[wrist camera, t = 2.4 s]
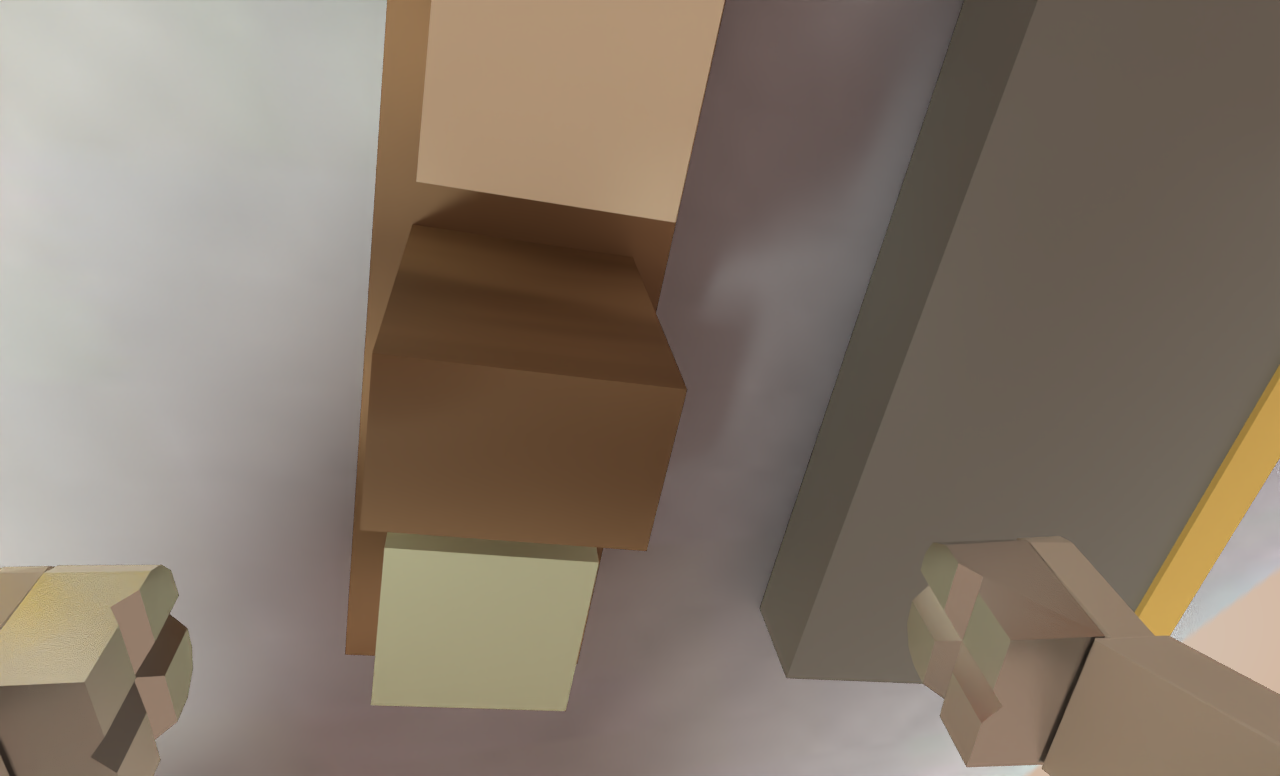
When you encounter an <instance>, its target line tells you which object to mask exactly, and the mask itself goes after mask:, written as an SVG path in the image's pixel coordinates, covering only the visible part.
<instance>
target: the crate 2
mask: <svg viewBox="0 0 1280 776" xmlns="http://www.w3.org/2000/svg"><path fill="white" fill-rule="evenodd" d="M598 564H599V560H598V554H597V547H584V546H570V545H557V544H543V543H529V542H515V541H502V540H488V539H474V538H460V537H446V536H433V535H419V534H405V533H391V532H387V537H386V542H385V547H384V558H383V570H382V581H381V593H380V605H379V616H378V628H377V639H376V651H375V663H374V674H373V686H372V697H371V705H379V706H411V707H444V708H476V709H509V710H542V711H566V707H567V703H568V698H569V694H570V689H571V685H572V681H573V676H574V672H575V667H576V663H577V658H578V654H579V649H580V645H581V640H582V636H583V631H584V627H585V622H586V618H587V614H588V609H589V605H590V600H591V596H592V591H593V587H594V582H595V578H596V573H597V569H598Z"/></svg>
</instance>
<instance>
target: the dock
mask: <svg viewBox="0 0 1280 776" xmlns="http://www.w3.org/2000/svg"><path fill="white" fill-rule="evenodd" d="M1279 458H1280V0H964V3H963V6H962V9H961V12H960V15H959V18H958V21H957V24H956V27H955V29H954V32H953V35H952V38H951V41H950V44H949V47H948V50H947V53H946V56H945V59H944V62H943V65H942V68H941V71H940V74H939V77H938V80H937V83H936V86H935V89H934V92H933V95H932V98H931V101H930V104H929V107H928V110H927V113H926V116H925V119H924V122H923V125H922V128H921V131H920V134H919V137H918V139H917V142H916V145H915V148H914V151H913V154H912V157H911V160H910V163H909V166H908V169H907V172H906V175H905V178H904V181H903V184H902V187H901V190H900V193H899V196H898V199H897V202H896V205H895V208H894V211H893V214H892V217H891V220H890V223H889V226H888V229H887V232H886V235H885V238H884V241H883V244H882V247H881V250H880V252H879V255H878V258H877V261H876V264H875V267H874V270H873V273H872V276H871V279H870V282H869V285H868V288H867V291H866V294H865V297H864V300H863V303H862V306H861V309H860V312H859V315H858V318H857V321H856V324H855V327H854V330H853V333H852V336H851V339H850V342H849V345H848V348H847V351H846V354H845V357H844V360H843V363H842V365H841V368H840V371H839V374H838V377H837V380H836V383H835V386H834V389H833V392H832V395H831V398H830V401H829V404H828V407H827V410H826V413H825V416H824V419H823V422H822V425H821V428H820V431H819V434H818V437H817V440H816V443H815V446H814V449H813V452H812V455H811V458H810V461H809V464H808V467H807V470H806V473H805V476H804V478H803V481H802V484H801V487H800V490H799V493H798V496H797V499H796V502H795V505H794V508H793V511H792V514H791V517H790V520H789V523H788V526H787V529H786V532H785V535H784V538H783V541H782V544H781V547H780V550H779V553H778V556H777V559H776V562H775V565H774V568H773V571H772V574H771V577H770V580H769V583H768V586H767V589H766V591H765V594H764V597H763V600H762V603H761V606H760V611H761V613H762V616H763V618H764V621H765V624H766V626H767V629H768V632H769V634H770V637H771V639H772V642H773V645H774V647H775V650H776V652H777V655H778V658H779V660H780V663H781V665H782V668H783V671H784V673H785V676H786V678H795V679H819V680H844V681H868V682H893V683H917V684H923V683H922V681H921V679H920V677H919V675H918V673H917V671H916V669H915V667H914V664H913V661H912V657H911V654H910V650H909V646H908V630H907V622H908V617H909V613H910V608H911V604H912V600H913V599H914V598H916V597H917V596H918V595H919V594H920V593H921V592H922V591H923V590H924V589H925V588H926V587H927V586H928V585H929V584H928V582H927V581H926V579H925V577H924V576H923V574H922V572H921V571H920V570H921V566H922V563H923V559H924V556H925V553H926V551H927V550H928V549H929V547H930V546H931V545H932V543H933V542H956V541H984V540H1016V539H1017V538H1030V537H1049V536H1061V537H1063V538H1065V539H1067V540H1069V541H1070V542H1072V543H1073V544H1074V545H1075V546H1076V547H1077V549H1078V550H1079V551H1080V552H1081V553H1082V554H1083V555H1084V556H1085V558H1086V559H1087V560H1088V561H1089V562H1090V563H1091V564H1092V565H1093V567H1094V568H1095V569H1096V570H1097V571H1098V572H1099V573H1100V574H1101V576H1102V577H1103V578H1104V579H1105V580H1106V581H1107V582H1108V584H1109V585H1110V586H1111V587H1112V588H1113V589H1114V590H1115V591H1116V593H1117V594H1118V595H1119V596H1120V597H1121V598H1122V599H1123V600H1124V602H1125V603H1126V604H1127V605H1128V606H1129V607H1130V608H1131V609H1132V611H1133V612H1134V613H1135V614H1136V615H1137V616H1138V617H1139V619H1140V620H1141V621H1142V622H1143V623H1144V624H1145V625H1146V626H1147V628H1148V629H1149V630H1150V631H1151V632H1152V633H1153V634H1154V635H1155V636H1170V635H1171V633H1172V631H1173V630H1174V628H1175V627H1176V625H1177V623H1178V622H1179V620H1180V618H1181V617H1182V615H1183V614H1184V612H1185V610H1186V609H1187V607H1188V605H1189V604H1190V602H1191V601H1192V599H1193V597H1194V596H1195V594H1196V593H1197V591H1198V589H1199V588H1200V586H1201V584H1202V583H1203V581H1204V580H1205V578H1206V576H1207V575H1208V573H1209V572H1210V570H1211V568H1212V567H1213V565H1214V563H1215V562H1216V560H1217V559H1218V557H1219V555H1220V554H1221V552H1222V550H1223V549H1224V547H1225V546H1226V544H1227V542H1228V541H1229V539H1230V538H1231V536H1232V534H1233V533H1234V531H1235V529H1236V528H1237V526H1238V525H1239V523H1240V521H1241V520H1242V518H1243V517H1244V515H1245V513H1246V512H1247V510H1248V508H1249V507H1250V505H1251V504H1252V502H1253V500H1254V499H1255V497H1256V495H1257V494H1258V492H1259V491H1260V489H1261V487H1262V486H1263V484H1264V483H1265V481H1266V479H1267V478H1268V476H1269V474H1270V473H1271V471H1272V470H1273V468H1274V466H1275V465H1276V463H1277V461H1278V460H1279Z"/></svg>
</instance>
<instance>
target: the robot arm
mask: <svg viewBox="0 0 1280 776" xmlns="http://www.w3.org/2000/svg"><path fill="white" fill-rule="evenodd" d="M920 571H921V572H922V574H923V576H924V577H925V579H926V581H927V582H928V584H929V585H928V586H927V587H926V588H925V589H924V590H923V591H922V592H921V593H920V594H919V595H918V596H917V597H916V598H914V599H913V600H912V604H911V608H910V613H909V617H908V622H907V630H908V646H909V650H910V654H911V657H912V661H913V664H914V667H915V669H916V671H917V673H918V675H919V677H920V679H921V681H922V683H923V684H924V685H926V686H927V687H928V688H930V689H931V690H933V691H934V692H935V693H937V694H938V695H940V696H941V697H942V698H944V702H943V706H942V709H941V713H940V718H941V720H942V722H943V723H944V725H945V727H946V729H947V731H948V733H949V735H950V737H951V739H952V741H953V742H954V744H955V746H956V748H957V750H958V752H959V754H960V756H961V758H962V760H963V761H964V763H965V765H966V767H985V766H1013V765H1042V764H1043V766H1042V769H1043V770H1044V771H1045V772H1047V773H1048V774H1049V775H1050V776H1280V694H1278V693H1276V692H1274V691H1272V690H1270V689H1269V688H1267V687H1265V686H1263V685H1261V684H1259V683H1257V682H1255V681H1253V680H1251V679H1250V678H1248V677H1246V676H1244V675H1242V674H1240V673H1238V672H1236V671H1234V670H1232V669H1231V668H1229V667H1227V666H1225V665H1223V664H1221V663H1219V662H1217V661H1216V660H1213V659H1212V658H1210V657H1208V656H1206V655H1204V654H1202V653H1200V652H1198V651H1197V650H1195V649H1193V648H1191V647H1189V646H1187V645H1185V644H1183V643H1182V642H1180V641H1178V640H1176V639H1174V638H1172V637H1170V636H1155V635H1154V634H1153V633H1152V632H1151V631H1150V630H1149V629H1148V628H1147V626H1146V625H1145V624H1144V623H1143V622H1142V621H1141V620H1140V619H1139V617H1138V616H1137V615H1136V614H1135V613H1134V612H1133V611H1132V609H1131V608H1130V607H1129V606H1128V605H1127V604H1126V603H1125V602H1124V600H1123V599H1122V598H1121V597H1120V596H1119V595H1118V594H1117V593H1116V591H1115V590H1114V589H1113V588H1112V587H1111V586H1110V585H1109V584H1108V582H1107V581H1106V580H1105V579H1104V578H1103V577H1102V576H1101V574H1100V573H1099V572H1098V571H1097V570H1096V569H1095V568H1094V567H1093V565H1092V564H1091V563H1090V562H1089V561H1088V560H1087V559H1086V558H1085V556H1084V555H1083V554H1082V553H1081V552H1080V551H1079V550H1078V549H1077V547H1076V546H1075V545H1074V544H1073V543H1072V542H1070V541H1069V540H1067V539H1065V538H1063V537H1061V536H1049V537H1030V538H1017V539H1016V540H984V541H956V542H933V543H932V545H931V546H930V547H929V549H928V550H927V551H926V553H925V556H924V559H923V563H922V566H921V570H920ZM178 596H179V594H178V591H177V588H176V585H175V582H174V578H173V575H172V572H171V570H170V569H168V568H166V567H164V566H162V565H58V566H56V567H52V566H27V567H2V568H0V776H154V774H155V771H156V769H157V767H158V765H159V762H160V760H161V759H160V756H159V752H158V749H157V746H156V742H155V739H156V738H158V737H159V736H160V735H161V734H163V733H164V732H165V731H166V730H168V729H169V728H170V727H171V726H173V725H174V724H175V723H176V722H178V719H179V717H180V715H181V712H182V710H183V707H184V705H185V703H186V700H187V698H188V693H189V687H190V682H191V676H192V671H193V661H192V645H191V641H190V637H189V633H188V629H187V628H186V627H185V626H184V625H183V624H181V623H180V622H179V621H178V620H176V619H175V618H174V617H172V616H171V615H170V614H169V613H170V611H171V610H172V608H173V606H174V604H175V602H176V600H177V598H178Z"/></svg>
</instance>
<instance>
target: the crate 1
mask: <svg viewBox="0 0 1280 776" xmlns="http://www.w3.org/2000/svg"><path fill="white" fill-rule="evenodd" d="M724 2H725V0H431V11H430V23H429V35H428V47H427V59H426V71H425V83H424V95H423V107H422V119H421V131H420V143H419V155H418V167H417V178H416V182H422V183H428V184H434V185H441V186H447V187H453V188H460V189H466V190H472V191H479V192H485V193H491V194H497V195H504V196H510V197H516V198H523V199H529V200H535V201H542V202H548V203H554V204H561V205H567V206H573V207H580V208H586V209H592V210H599V211H605V212H611V213H618V214H624V215H630V216H637V217H643V218H649V219H656V220H662V221H668V222H674V223H675V222H676V218H677V213H678V209H679V204H680V200H681V195H682V191H683V186H684V182H685V177H686V173H687V168H688V164H689V159H690V155H691V150H692V146H693V141H694V137H695V132H696V128H697V123H698V119H699V114H700V110H701V105H702V101H703V96H704V92H705V87H706V83H707V78H708V74H709V69H710V65H711V60H712V56H713V51H714V47H715V42H716V38H717V33H718V29H719V24H720V20H721V15H722V11H723V6H724Z"/></svg>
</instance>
